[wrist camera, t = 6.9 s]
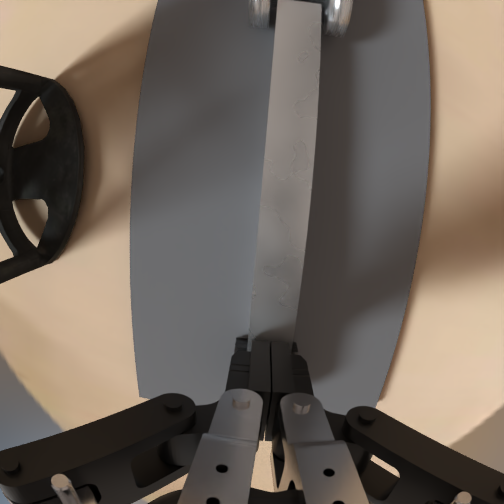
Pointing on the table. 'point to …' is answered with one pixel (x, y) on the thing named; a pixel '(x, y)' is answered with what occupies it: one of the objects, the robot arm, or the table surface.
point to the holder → (39, 171)
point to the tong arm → (286, 172)
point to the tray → (249, 196)
